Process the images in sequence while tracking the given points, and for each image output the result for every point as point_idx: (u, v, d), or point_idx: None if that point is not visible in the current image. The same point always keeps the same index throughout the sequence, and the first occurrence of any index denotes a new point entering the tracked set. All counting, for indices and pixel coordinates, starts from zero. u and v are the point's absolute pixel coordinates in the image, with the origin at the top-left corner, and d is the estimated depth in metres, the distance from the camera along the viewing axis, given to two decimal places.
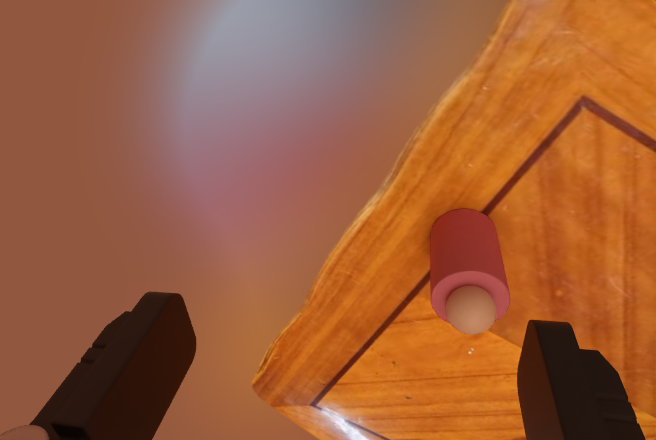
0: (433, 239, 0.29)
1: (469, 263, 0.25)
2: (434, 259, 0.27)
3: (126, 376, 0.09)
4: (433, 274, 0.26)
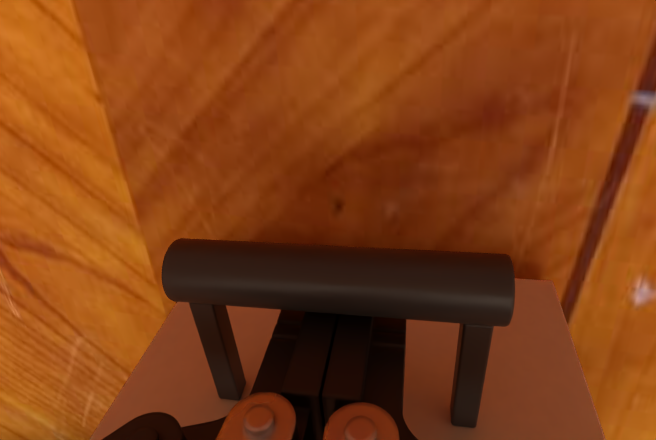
0: None
1: None
2: None
3: (330, 350, 0.09)
4: None
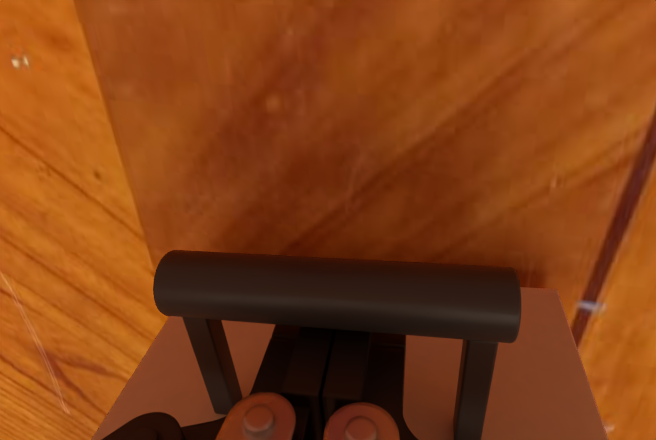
0: None
1: None
2: None
3: (330, 350, 0.09)
4: None
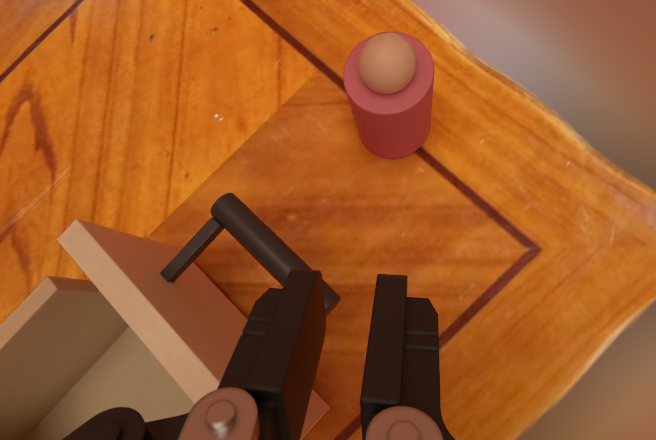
0: None
1: None
2: None
3: (298, 346, 0.09)
4: None
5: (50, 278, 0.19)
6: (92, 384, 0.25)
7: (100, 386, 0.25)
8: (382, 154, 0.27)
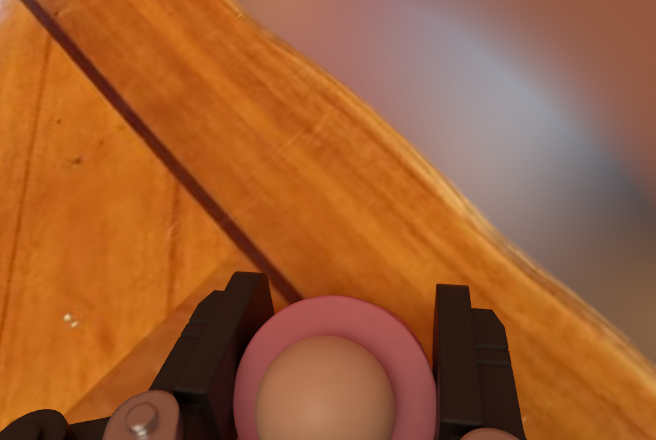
0: (398, 317, 0.14)
1: None
2: None
3: (232, 348, 0.10)
4: (392, 314, 0.11)
5: None
6: None
7: None
8: None
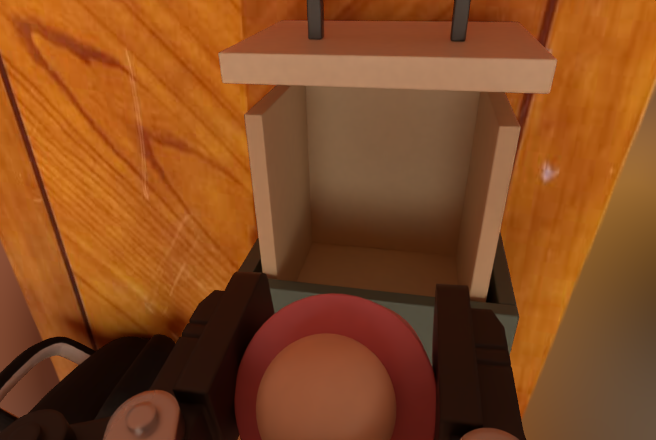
0: None
1: None
2: None
3: (232, 348, 0.10)
4: (393, 312, 0.11)
5: (248, 113, 0.19)
6: (321, 170, 0.28)
7: (327, 166, 0.28)
8: None
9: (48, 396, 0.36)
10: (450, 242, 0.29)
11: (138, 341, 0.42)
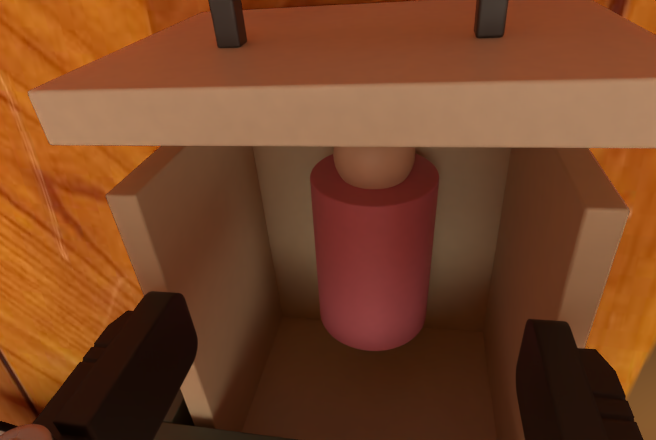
0: None
1: (437, 193, 0.15)
2: None
3: (128, 375, 0.09)
4: None
5: (112, 193, 0.11)
6: (284, 226, 0.20)
7: (292, 221, 0.19)
8: (357, 338, 0.17)
9: None
10: (474, 315, 0.21)
11: None
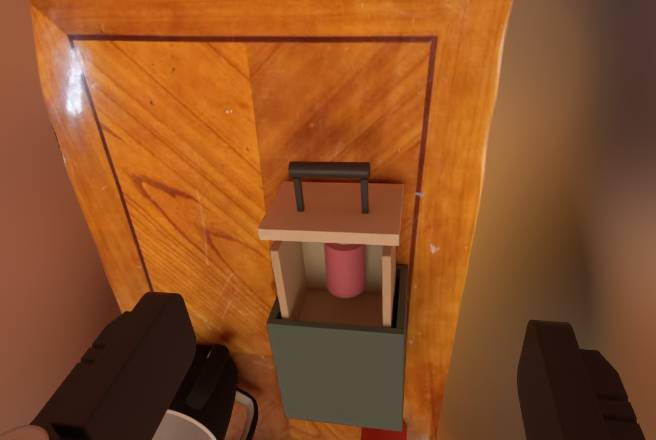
0: None
1: None
2: None
3: (126, 376, 0.09)
4: None
5: (271, 250, 0.42)
6: (309, 252, 0.51)
7: (312, 251, 0.51)
8: (343, 294, 0.48)
9: None
10: None
11: (202, 347, 0.65)
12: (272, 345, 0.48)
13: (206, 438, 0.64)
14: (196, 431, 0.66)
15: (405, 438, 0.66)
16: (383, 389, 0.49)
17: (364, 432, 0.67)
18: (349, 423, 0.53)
